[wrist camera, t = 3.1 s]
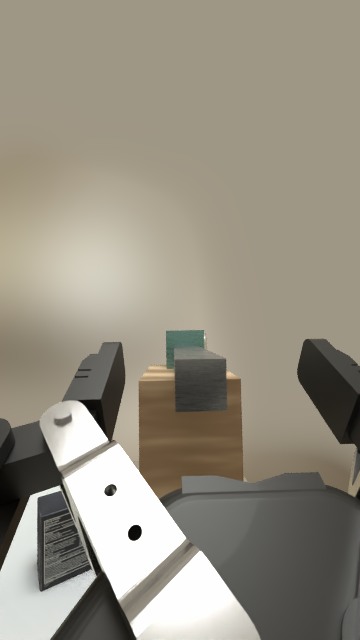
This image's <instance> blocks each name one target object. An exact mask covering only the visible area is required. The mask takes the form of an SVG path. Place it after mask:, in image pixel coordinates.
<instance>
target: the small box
mask: <svg viewBox="0 0 360 640" xmlns="http://www.w3.org/2000/svg"><path fill="white" fill-rule="evenodd" d="M37 503H38V506H37V507H38V517H37V544H38V546H37V548H38V549H37V551H38V556H37V557H38V559H37V565H38V576H39V586H40V591H43V590H45V589H47V588H49V587H52V586H54V585H56V584H58V583H60V582H63V581H65V580H67V579H69V578H71V577H73V576H76V575H78V574H80V573H82V572H84V571H87V570H89V569H91V568H92V567H91V565H90V562H89V560H88V557H87V555H86V552H85V549H84V547H83V544H82V541H81V538H80V536H79V533H78V531H77V528H76V526H75V523H74V521H73V518H72V516H71V513H70V511H69V509H68V506H67V504H66V501H65V499H64V496H63V494H62V492H61V491H59V492H55V493H52V494H49V495H45V496H42V497H39V498H38V502H37Z"/></svg>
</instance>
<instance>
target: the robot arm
mask: <svg viewBox="0 0 360 640" xmlns="http://www.w3.org/2000/svg"><path fill="white" fill-rule="evenodd" d="M297 370H298V371H297V375H298V379H299V382H300V383H301V385H302V386H303V388H304V390H305V391H306V393H307V394H308V395H309V397H310V399H311V400H312V401H313V403H314V405H315V406H316V408H317V409H318V411H319V412H320V414H321V416H322V417H323V419H324V420H325V422H326V423H327V425H328V426H329V428H330V429H331V430H332V432H333V434H334V435H335V437H336V438H337V440H338V441H339V443H340V444H355V445H356V447H357V448H356V451H355V453H354V459H353V464H352V471H351V476H350V483H349V489H348V493H346V492H344V491H342V490H339V489H337V488H334V487H331V486H328V485H325V484H324V482H323V480H322V478H321V476H320V475H319V473H318V472H315V473H314V472H313V473H312V472H311V473H284V474H281V475H279V476H275V477H272V478H269V479H266V480H263V481H259V482H256V483H248V482H244V481H239V480H234V479H230V478H225V477H221V476H216V475H212V476H182V488H180V489H177V490H174V491H172V492H170V493H168V494H166V495H164V496H163V497H161V498H160V499H157V497H156V496H155V494H154V493H153V492H152V490H151V489H150V487H149V486H148V484H147V483H146V482H145V480H144V479H143V477H142V476H141V475H140V473H139V472H138V470H137V469H136V468H135V466H134V465H133V463H132V462H131V461H130V459H129V458H128V456H127V455H126V454H125V452H124V451H123V449H122V448H121V446H120V445H119V444H118V443H117V442H116V441H115V440H113V441H112V436H113V432H114V428H115V424H116V420H117V415H118V411H119V406H120V403H121V398H122V394H123V390H124V385H125V366H124V358H123V349H122V344H121V342H104V343H103V344H102V346H101V349H100V351H99V353H98V354H90V355H89V356H88V357H87V358H85V359H84V360H83V361H82V363H81V364H80V367H79V368H78V371H77V372H76V374H75V377H74V378H73V380H72V382H71V384H70V386H69V388H68V390H67V392H66V394H65V396H64V398H63V400H62V402H60V403H58V404H56V405H53V406H52V407H50V408H49V409H48V410H46V411H45V412H44V414H43V415H42V417H41V418H40V420H39V421H37V422H34V423H31V424H26V425H22V426H19V427H15V428H11V426H10V424H9V422H8V421H7V420H5V419H1V418H0V570H1V568H2V565H3V563H4V560H5V558H6V555H7V553H8V550H9V548H10V545H11V543H12V540H13V538H14V535H15V533H16V530H17V527H18V525H19V522H20V520H21V517H22V515H23V512H24V510H25V507H26V505H27V502H28V500H29V497H30V495H32V494H35V493H38V492H41V491H44V490H47V489H50V488H53V487H56V486H59V487H60V489H61V492H62V494H63V496H64V499H65V501H66V504H67V506H68V509H69V511H70V513H71V516H72V518H73V521H74V523H75V526H76V528H77V531H78V533H79V536H80V538H81V541H82V544H83V547H84V549H85V552H86V555H87V557H88V560H89V562H90V565H91V567H92V570H93V572H94V575H95V577H96V578H95V580H94V581H93V583H92V584H91V585H90V587H89V588H88V589H87V591H86V592H85V593H84V595H83V596H82V597H81V599H80V600H79V601H78V603H77V604H76V605H75V607H74V608H73V610H72V611H71V612H70V614H69V615H68V616H67V618H66V619H65V620H64V622H63V623H62V624H61V626H60V627H59V628H58V630H57V631H56V632H55V634H54V635H53V637H52V638H51V639H50V640H360V366H358V364H357V363H356V362H355V361H354V360H353V359H352V358H350V356H348V355H346V354H344V353H343V352H340V351H339V350H336V349H335V348H334V347H333V346H332V345H331V344H330V343H329V342H328V341H327V340H326V339H306V340H305V341H304V343H303V347H302V351H301V355H300V360H299V364H298V369H297Z"/></svg>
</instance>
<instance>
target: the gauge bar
mask: <svg viewBox="0 0 360 640" xmlns="http://www.w3.org/2000/svg"><path fill="white" fill-rule="evenodd" d="M166 350H167V351H166V354H167V355H166V357H167V369H174V377H175V412H199V411H227V378H226V358H224V357H221V356H219V355H216V354H215V353H212V352H210V351H208V350H207V339H206V334H205V333H204V330H195V331H194V330H189V331H166Z"/></svg>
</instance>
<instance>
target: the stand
mask: <svg viewBox="0 0 360 640" xmlns="http://www.w3.org/2000/svg"><path fill="white" fill-rule="evenodd" d="M226 378H227V411H199V412H175V377H174V369H167V365H151V366H150V367H149V368H148V369H147V371H146V372H145V373H144V375H143V376H142V377H141V379H140V380H139V473H140V475H141V476H142V477H143V479H144V480H145V482H146V483H147V484H148V486H149V487H150V489H151V490H152V492H153V493H154V494H155V496H156V497H157V499H160V498H161V497H163V496H164V495H166V494H168V493H170V492H172V491H174V490H177V489H180V488H182V476H212V475H216V476H221V477H225V478H230V479H234V480H239V481H243V450H242V448H243V447H242V416H241V415H242V412H241V379H240V378H238V377H237V376H235V375H234V374H232V373H231V372H229V371H228V370H226Z"/></svg>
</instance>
